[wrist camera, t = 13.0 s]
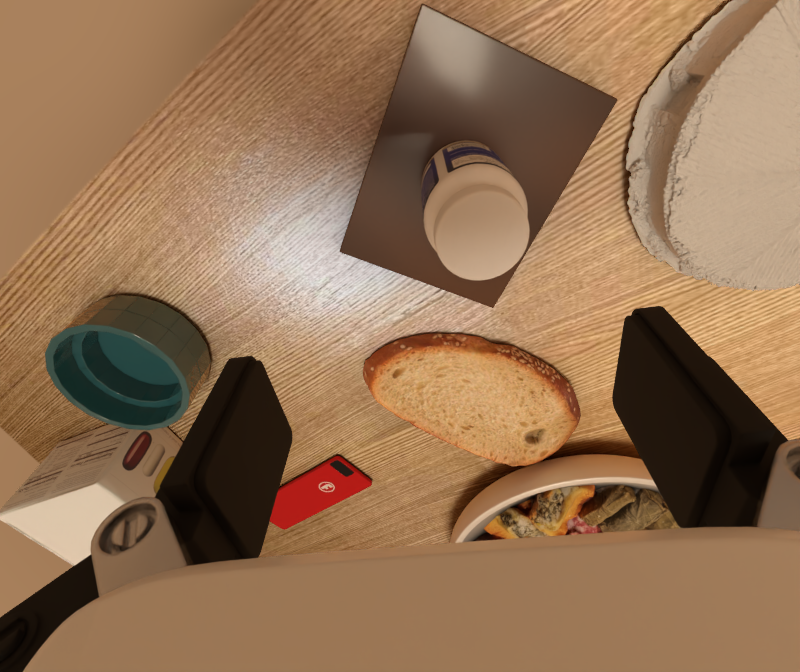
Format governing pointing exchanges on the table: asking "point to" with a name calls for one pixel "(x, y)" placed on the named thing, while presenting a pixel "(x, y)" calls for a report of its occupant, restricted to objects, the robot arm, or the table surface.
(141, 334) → the teal bowl
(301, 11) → the table surface
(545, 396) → the bread slice
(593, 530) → the bowl
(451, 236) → the pill bottle
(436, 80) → the walnut board
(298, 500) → the electronic device
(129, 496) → the supplement box
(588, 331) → the table surface
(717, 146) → the grey pie
